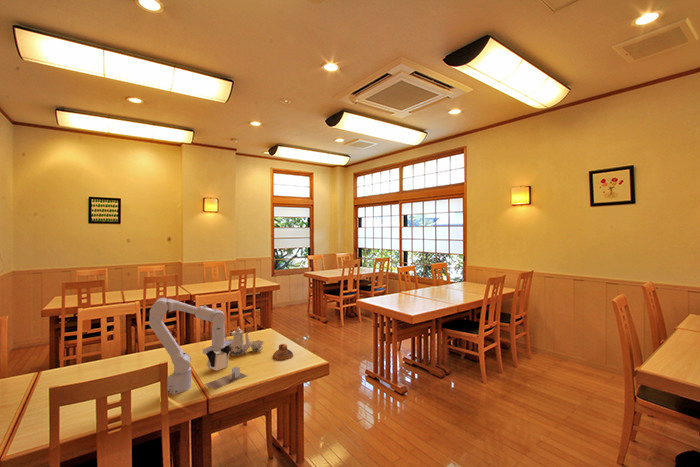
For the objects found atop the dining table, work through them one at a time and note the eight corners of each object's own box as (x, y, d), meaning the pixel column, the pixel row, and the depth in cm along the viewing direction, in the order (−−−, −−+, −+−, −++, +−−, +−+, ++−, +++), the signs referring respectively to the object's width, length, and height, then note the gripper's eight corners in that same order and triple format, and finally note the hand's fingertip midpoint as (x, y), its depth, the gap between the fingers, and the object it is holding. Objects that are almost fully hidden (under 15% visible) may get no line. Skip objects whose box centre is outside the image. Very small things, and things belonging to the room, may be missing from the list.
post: (235, 379, 157) (235, 369, 157) (232, 378, 158) (232, 367, 158) (239, 377, 159) (239, 367, 159) (236, 376, 160) (236, 366, 160)
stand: (215, 391, 146) (215, 389, 146) (204, 386, 151) (204, 384, 151) (248, 377, 161) (248, 375, 161) (237, 373, 166) (237, 371, 166)
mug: (233, 367, 174) (233, 348, 174) (212, 375, 163) (212, 356, 164) (223, 364, 178) (223, 346, 179) (202, 372, 168) (202, 353, 168)
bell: (295, 358, 187) (295, 346, 188) (275, 362, 182) (275, 349, 182) (290, 352, 198) (290, 340, 198) (270, 355, 193) (270, 343, 193)
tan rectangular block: (216, 370, 150) (216, 356, 150) (209, 368, 153) (209, 354, 153) (226, 366, 154) (226, 353, 155) (220, 364, 158) (220, 350, 158)
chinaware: (267, 350, 205) (268, 324, 207) (256, 357, 188) (258, 328, 191) (225, 349, 208) (226, 323, 210) (211, 355, 191) (213, 327, 194)
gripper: (208, 341, 146) (208, 371, 146) (236, 333, 158) (236, 361, 157) (200, 338, 150) (200, 368, 150) (228, 331, 162) (228, 358, 162)
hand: (218, 364), depth 154 cm, fingers closed on tan rectangular block, 5 cm apart
